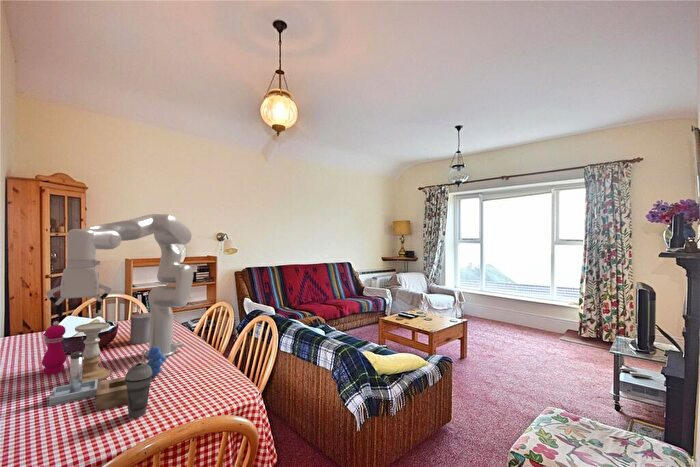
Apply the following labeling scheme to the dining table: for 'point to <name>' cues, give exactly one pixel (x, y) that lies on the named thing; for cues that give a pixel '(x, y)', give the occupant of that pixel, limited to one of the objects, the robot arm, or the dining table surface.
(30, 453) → the dining table surface
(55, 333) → the pepper mill
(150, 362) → the grapes
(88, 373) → the candle holder
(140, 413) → the beverage cup
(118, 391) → the block
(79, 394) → the dish
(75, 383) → the pin
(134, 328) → the pillar candle
